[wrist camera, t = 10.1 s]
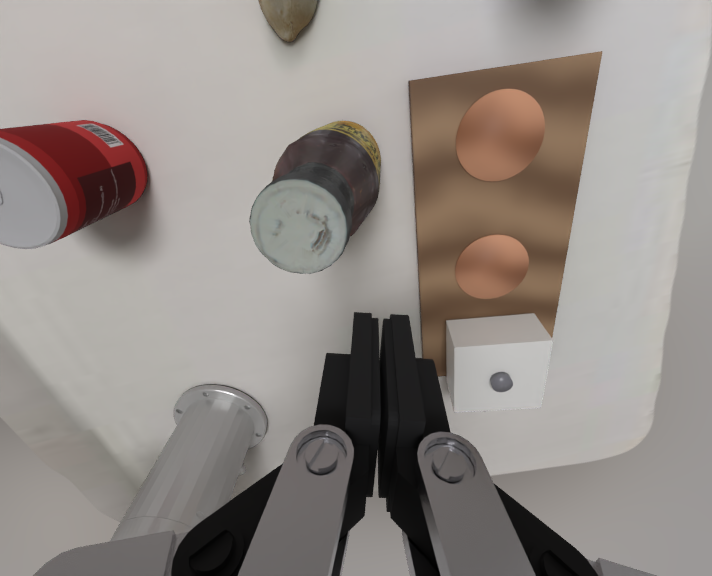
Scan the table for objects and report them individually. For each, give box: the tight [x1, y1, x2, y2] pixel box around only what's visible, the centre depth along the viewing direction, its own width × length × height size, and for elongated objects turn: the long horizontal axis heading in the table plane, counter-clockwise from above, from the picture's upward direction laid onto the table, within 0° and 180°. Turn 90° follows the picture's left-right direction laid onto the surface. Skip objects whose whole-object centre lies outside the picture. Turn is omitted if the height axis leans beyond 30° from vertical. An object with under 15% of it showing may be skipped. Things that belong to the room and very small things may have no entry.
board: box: [409, 51, 602, 376], centre depth 34 cm, size 31×14×1 cm, turn 8°
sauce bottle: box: [249, 121, 381, 274], centre depth 23 cm, size 7×6×20 cm
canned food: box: [0, 120, 147, 249], centre depth 28 cm, size 8×8×11 cm
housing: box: [446, 313, 553, 413], centre depth 37 cm, size 9×9×5 cm
